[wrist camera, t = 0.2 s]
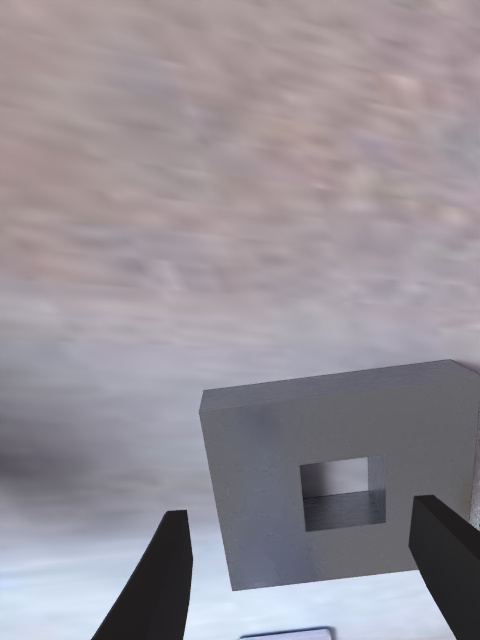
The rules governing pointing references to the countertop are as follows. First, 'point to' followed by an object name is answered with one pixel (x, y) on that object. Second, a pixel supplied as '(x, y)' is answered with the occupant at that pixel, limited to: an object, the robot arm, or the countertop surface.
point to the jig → (332, 445)
